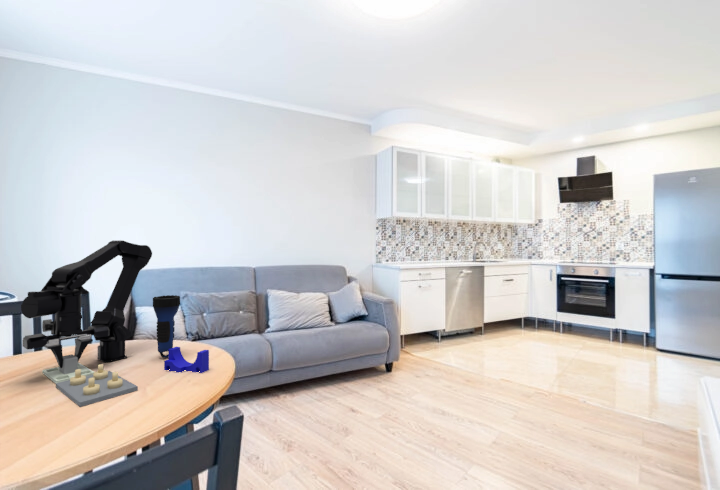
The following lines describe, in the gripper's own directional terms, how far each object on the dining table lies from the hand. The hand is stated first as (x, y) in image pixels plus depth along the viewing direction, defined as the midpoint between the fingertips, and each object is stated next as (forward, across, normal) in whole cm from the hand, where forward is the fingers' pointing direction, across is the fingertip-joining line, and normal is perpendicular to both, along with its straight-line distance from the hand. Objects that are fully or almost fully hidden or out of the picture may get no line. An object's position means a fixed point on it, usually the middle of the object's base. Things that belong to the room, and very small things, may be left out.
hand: (68, 366), depth 104 cm
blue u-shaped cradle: (+3, -22, +24) cm, 32 cm away
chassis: (+2, -1, +19) cm, 19 cm away
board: (+2, 0, 0) cm, 2 cm away
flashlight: (+2, -24, +7) cm, 25 cm away
